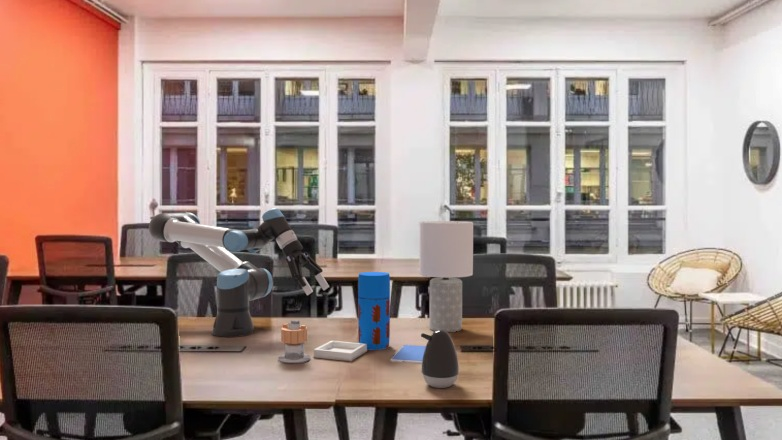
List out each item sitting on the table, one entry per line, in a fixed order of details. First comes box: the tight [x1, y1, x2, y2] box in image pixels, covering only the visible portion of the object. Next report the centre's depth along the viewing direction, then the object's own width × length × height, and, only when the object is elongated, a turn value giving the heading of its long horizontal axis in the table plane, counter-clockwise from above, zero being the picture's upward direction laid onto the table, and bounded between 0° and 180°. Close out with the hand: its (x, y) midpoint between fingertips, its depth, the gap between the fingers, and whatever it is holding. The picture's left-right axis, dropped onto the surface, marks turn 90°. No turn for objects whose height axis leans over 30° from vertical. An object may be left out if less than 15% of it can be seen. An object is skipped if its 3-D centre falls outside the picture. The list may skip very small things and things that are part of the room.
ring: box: [280, 323, 308, 344], centre depth 192 cm, size 8×8×5 cm
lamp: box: [418, 220, 474, 333], centre depth 236 cm, size 21×21×42 cm
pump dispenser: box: [420, 330, 460, 389], centre depth 166 cm, size 10×10×15 cm
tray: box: [313, 340, 368, 362], centre depth 198 cm, size 13×13×2 cm
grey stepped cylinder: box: [277, 319, 311, 365], centre depth 192 cm, size 10×10×12 cm
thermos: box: [357, 271, 391, 351], centre depth 209 cm, size 11×11×25 cm
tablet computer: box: [390, 344, 426, 365], centre depth 198 cm, size 19×13×1 cm, turn 166°
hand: (318, 291), depth 231 cm, fingers open, 13 cm apart
